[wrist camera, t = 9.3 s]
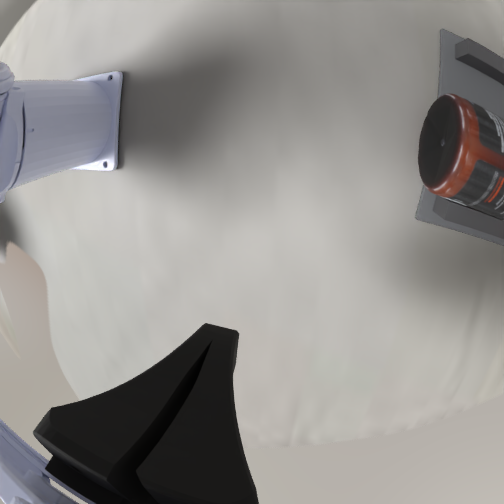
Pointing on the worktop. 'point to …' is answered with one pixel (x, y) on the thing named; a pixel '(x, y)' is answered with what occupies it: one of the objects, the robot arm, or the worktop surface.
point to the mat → (483, 94)
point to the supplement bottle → (463, 154)
